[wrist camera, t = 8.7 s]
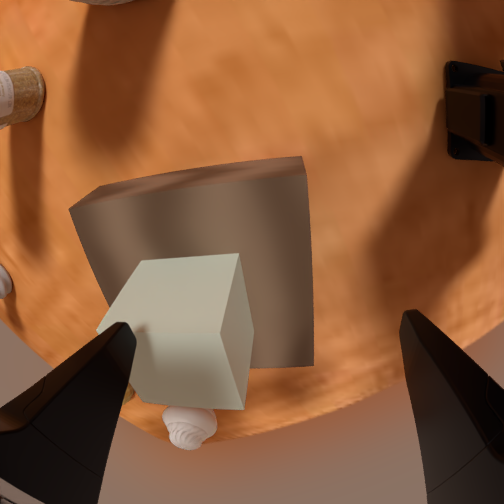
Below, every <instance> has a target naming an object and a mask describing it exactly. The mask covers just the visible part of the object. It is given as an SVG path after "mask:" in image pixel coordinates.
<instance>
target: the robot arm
mask: <svg viewBox="0 0 504 504" xmlns="http://www.w3.org/2000/svg"><path fill="white" fill-rule="evenodd" d="M500 63H501V66H502V69H503V71H504V60H500ZM452 65H453V66H454V67H455V71H453V70H452ZM445 68H446V80H447V90H446V127H447V129H448V154H449V156H450V157H452V158H454V159H460V160H480V161H495V162H497V163H499V164H501V165H502V166H504V72H501V71H497V70H493V69H490V68H486V67H481V66H477V65H472V64H468V63H463V62H458V61H448V62H447V63H446V67H445ZM455 148H456V149H457V151H456V153H455V154H454V152H453V151H454V149H455ZM399 336H400V343H401V349H402V356H403V363H404V370H405V377H406V382H407V387H408V391H409V395H410V400H411V404H412V409H413V413H414V418H415V423H416V428H417V433H418V438H419V444H420V450H421V456H422V462H423V469H424V476H425V484H426V492H427V503H428V504H504V389H503V388H502V387H501V386H500V385H499V384H497V383H496V382H495V381H494V380H493V379H492V378H491V377H490V376H488V374H487V373H486V372H485V371H484V370H483V369H482V368H481V367H480V366H479V365H478V364H477V363H475V361H474V360H472V359H471V358H470V357H469V356H468V355H467V354H466V353H465V352H464V351H463V350H462V349H461V348H460V347H459V346H458V345H456V344H455V343H454V342H453V341H452V340H451V339H450V338H449V337H448V336H447V335H445V334H444V333H443V332H442V331H441V330H440V329H439V328H438V327H437V326H435V325H434V324H433V323H432V322H431V321H430V320H429V319H428V318H426V317H425V316H424V315H423V314H422V313H421V312H420V311H418V310H417V309H412V310H406V311H404V313H403V316H402V321H401V325H400V330H399ZM136 346H137V340H136V337H135V335H134V333H133V331H132V330H131V328H130V326H129V324H128V323H127V322H115V323H114V324H113V325H111V326H110V327H109V328H107V329H106V330H105V331H103V332H102V333H101V334H99V335H98V336H97V337H95V338H94V339H93V340H91V341H90V342H89V343H87V344H86V345H85V346H83V347H82V348H81V349H79V350H78V351H77V352H76V353H74V354H73V355H72V356H70V357H69V358H68V359H66V360H65V361H64V362H62V363H61V364H60V365H59V366H57V367H56V368H55V369H54V370H52V371H51V372H50V373H48V374H47V375H46V376H44V377H43V378H42V379H41V380H39V381H38V382H37V383H35V384H34V385H33V386H31V387H30V388H29V389H27V390H26V391H24V392H23V393H21V394H20V395H19V396H17V397H16V398H14V399H13V400H11V401H10V402H8V403H7V404H5V405H4V406H2V407H1V408H0V504H97V503H98V499H99V494H100V490H101V485H102V480H103V476H104V471H105V467H106V463H107V459H108V455H109V450H110V447H111V443H112V439H113V435H114V432H115V428H116V424H117V421H118V417H119V414H120V410H121V407H122V403H123V400H124V396H125V393H126V390H127V387H128V383H129V379H130V375H131V370H132V365H133V360H134V355H135V350H136Z"/></svg>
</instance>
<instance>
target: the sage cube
mask: <svg viewBox="0 0 504 504" xmlns="http://www.w3.org/2000/svg"><path fill="white" fill-rule="evenodd" d="M115 322H127V323H128V324H129V326H130V328H131V330H132V331H133V333H134V335H135V337H136V340H137V346H136V350H135V355H134V360H133V365H132V370H131V375H130V379H129V383H130V384H131V386H132V387H133V389H134V390H135V391H136V393H137V394H138V396H139V397H140V398H141V400H142V401H143V402H146V403H154V404H162V405H171V406H181V407H193V408H207V409H227V410H244V409H245V401H246V393H247V385H248V377H249V369H250V361H251V353H252V345H253V337H254V328H253V323H252V318H251V313H250V308H249V303H248V298H247V292H246V287H245V282H244V277H243V272H242V266H241V261H240V256H239V253H234V254H221V255H208V256H195V257H181V258H168V259H155V260H142V261H141V262H140V263H139V265H138V266H137V267H136V269H135V270H134V272H133V273H132V275H131V276H130V278H129V279H128V281H127V282H126V284H125V285H124V287H123V288H122V290H121V291H120V293H119V295H118V296H117V298H116V299H115V301H114V302H113V304H112V305H111V307H110V309H109V310H108V312H107V313H106V315H105V317H104V318H103V320H102V321H101V323H100V325H99V326H98V328H97V330H96V331H97V332H98V334H101V333H102V332H103V331H105V330H106V329H107V328H109V327H110V326H111V325H113V324H114V323H115Z"/></svg>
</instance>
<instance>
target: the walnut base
mask: <svg viewBox="0 0 504 504" xmlns="http://www.w3.org/2000/svg"><path fill="white" fill-rule="evenodd" d="M69 212H70V215H71V217H72V220H73V223H74V226H75V228H76V231H77V234H78V236H79V239H80V241H81V244H82V246H83V249H84V251H85V254H86V256H87V259H88V261H89V263H90V266H91V268H92V270H93V273H94V275H95V277H96V279H97V282H98V284H99V286H100V288H101V290H102V292H103V295H104V297H105V299H106V301H107V303H108V305H109V307H111V305H112V304H113V302H114V301H115V299H116V298H117V296H118V295H119V293H120V291H121V290H122V288H123V287H124V285H125V284H126V282H127V281H128V279H129V278H130V276H131V275H132V273H133V272H134V270H135V269H136V267H137V266H138V265H139V263H140V262H141V261H142V260H155V259H168V258H181V257H195V256H208V255H221V254H234V253H239V256H240V261H241V266H242V272H243V277H244V282H245V287H246V292H247V298H248V303H249V308H250V313H251V318H252V323H253V328H254V337H253V345H252V353H251V361H250V368H286V367H305V366H314V314H313V275H312V250H311V231H310V214H309V199H308V185H307V174H306V170H305V167H304V163H303V159H302V156H297V157H285V158H274V159H264V160H255V161H246V162H237V163H229V164H222V165H214V166H207V167H200V168H194V169H187V170H181V171H175V172H169V173H163V174H158V175H152V176H147V177H142V178H136V179H131V180H127V181H122V182H117V183H112V184H108V185H103V186H99V187H98V188H96V189H95V190H94V191H92V192H91V193H89V194H88V195H87V196H85V197H84V198H83V199H81V200H80V201H78V202H77V203H76V204H74V205H73V206H72V207H70V208H69Z"/></svg>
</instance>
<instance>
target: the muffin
mask: <svg viewBox="0 0 504 504" xmlns="http://www.w3.org/2000/svg"><path fill="white" fill-rule="evenodd" d="M162 419H163V421H164V423H165V425H166V426H167V429H168V431H169V433H170V434H169V439H170V441H171V442H172V443H173V444H174V445H175V446H177V447H178V448H182V449H185V450H195V449H197V448H199V447H200V446H201V444H202V442H203V441H205V440H206V438H209V437H211V436H212V435H214V433H215V432H216V430H217V421H216V415H215V412H214V410H213V409H207V408H193V407H181V406H171V405H168V407H167V408H166V409H165V410H164V412H163V415H162Z"/></svg>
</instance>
